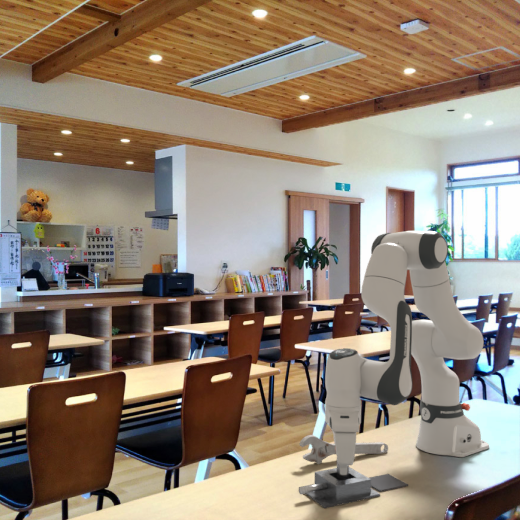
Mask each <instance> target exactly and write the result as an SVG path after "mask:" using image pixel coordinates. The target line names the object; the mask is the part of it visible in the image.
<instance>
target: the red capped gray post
mask: <svg viewBox="0 0 520 520" xmlns="http://www.w3.org/2000/svg"><path fill="white" fill-rule="evenodd" d="M335 451H336V447H335ZM349 467H350V465H348V467H347V475H341V474H340V465H339V464H338V461H337V460H336V468H337V480H339V481H341V480H346V479H349Z"/></svg>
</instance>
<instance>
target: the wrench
mask: <svg viewBox="0 0 520 520" xmlns="http://www.w3.org/2000/svg"><path fill="white" fill-rule="evenodd" d="M308 445H311V450H310V452H308V453H307V452H306V453H305V454H304V455H302V459H303V460H305V461H307V462H310V463H316V464H317V465H320V464H322V463H323V462H322V461H323V460H325V459H326V458H328V457H330V456H333V455H336V451H335V443H330V442H328V441H325V440H322V439H320V438H319V437H317V436H315V435H314V434H308V435H306V436H304V437H303V438H302V439H301V440H300V442H299V446H300V447H301V448H303V447H306V446H308ZM382 447H384V448H383V449H382ZM388 451H389V446H388V444H386V443H384V442H383V441H381V442H380V441H377V442H375V441H374V442H356V446H355V455H363V454H365V455H366V454H368V455H369V454H375V455H377V454H378V455H379V454H385V453H388Z"/></svg>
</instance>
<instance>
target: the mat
mask: <svg viewBox="0 0 520 520" xmlns="http://www.w3.org/2000/svg"><path fill="white" fill-rule="evenodd" d="M368 478H369V479H371V489H373V490H375V491H376V492H378V493H382V492H386V491H390V490H395V489H400V488H405V487H408V486H409V484H408V483H406V482H405V481H403V480H401V479H399V478H397V477H395V475H394V476H393V475H392V474H389V473H386V474H381V475H375V476H370V477H368Z"/></svg>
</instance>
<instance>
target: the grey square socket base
mask: <svg viewBox="0 0 520 520" xmlns="http://www.w3.org/2000/svg"><path fill="white" fill-rule="evenodd" d="M298 493H299V495H305V496H307V497H308V496H309V497H308V498H310V499H311V500H312V501H313V502H315V503H317V504H318V505H319V506H321V507H322V508H323V509H327V508H331V507H336V506H341V505H346V504H350V503H349V502H351V503H355V502H358V501H359V500H360V501H363V499H364V500H368V499H372V498H373V499H374V498H378V497H381V492H379V491H377V490H376V489H374V488H372V487H371V479H369V477H368V476H366V475H364V474H362V473H360V472H359V471H357V470H355V469H354V468H352V467H350V466H349V479H346V480H341V481H339V480H337V467H334V468H327V469H325V470H319V471H314V483H313V484H308V485H302V486H299V487H298ZM360 501H359V502H360Z"/></svg>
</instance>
